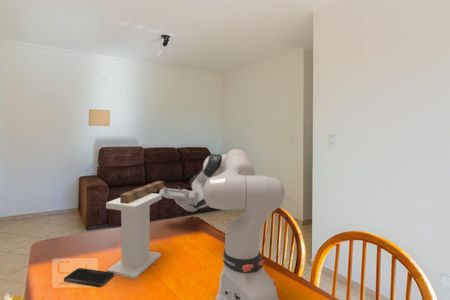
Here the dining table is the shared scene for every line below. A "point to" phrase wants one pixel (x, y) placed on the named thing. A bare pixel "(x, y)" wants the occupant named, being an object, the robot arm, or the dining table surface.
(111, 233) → the dining table surface
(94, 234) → the dining table surface
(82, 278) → the phone
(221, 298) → the robot arm
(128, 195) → the walnut bar
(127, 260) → the pedestal
